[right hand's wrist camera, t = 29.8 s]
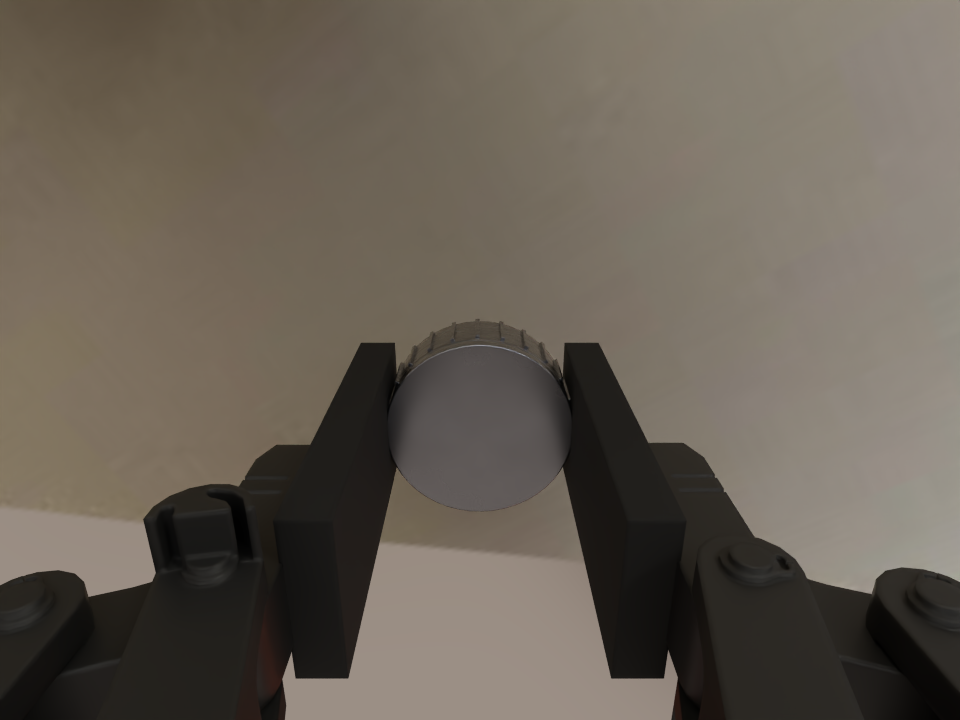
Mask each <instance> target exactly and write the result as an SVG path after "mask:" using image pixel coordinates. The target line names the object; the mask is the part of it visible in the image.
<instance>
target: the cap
mask: <svg viewBox="0 0 960 720" xmlns="http://www.w3.org/2000/svg"><path fill="white" fill-rule="evenodd" d="M394 385H395V386H394V390H393V393H392V396H391V399H390V404H389V408H388V411H387V420H388V437H389V450H390V454H391V456H392V459H393V461H394V463H395V465H396V466H397V468H398V469H399V471H400V472H401V474H402V475H403V476H404V478H405V479H406V480H407V481H408V482H409V483H410V484H411V485H412V486H413V487H414V488H415V489H416V490H418V491H419V492H420V493H422V494H423V495H425V496H426V497H428V498H430V499H432V500H434V501H435V502H438V503H440V504H443V505H445V506H448V507H452V508H456V509H460V510H467V511H494V510H499V509H504V508H508V507H511V506H514V505H517V504H519V503H522V502H524V501H526V500H528V499H530V498H531V497H533V496H535V495H536V494H538V493H539V492H540V491H542V490H543V489H544V488H545V487H547V486H548V485H549V484H550V483H551V482H552V481H553V480H554V478H555V477H556V476H557V474H558V473H559V472H560V470H561V469H562V467H563V465H564V464H565V462H566V460H567V457H568V455H569V453H570V446H571V430H572V409H571V406H570V396H569V393H568V389H567V386H566V383H565V380H564V379H563V377H562V373H561V370H560V367H559V364H558V361H557V359H555V360H553V358H552V357H551V355H550V354H549V353H548V352H547V350H546V349H545V346H544V344H543V343H542V342H541V343H538V342H537V341H536V340H535V339H533V338H532V337H530V336H529V335H527V334H526V331H525V330H524V329H522V330H521V331H520V330H518V329H515V328H513V327H510V326H507V325H504V323H503V322H502V321H500V322H499V323H494V322H482V321H480V319H476V321H475V322H465V323H460V324H456V322H454V323H452V326H449V327H447V328H444V329H442V330H440V331H438V332H436V333H434V331H432V332H431V333H430V336H429V337H428V338H426V339H425V340H423V341H422V342H421V343H420V344H419V345H418V346H416V345H414V346H413V347H412V351H411V353H410V355H409V356H408V357H407V359H406V361H405V362H404V363H402V362H401V364H400V366H399V369H398V372H397V375H396V379H395V382H394Z"/></svg>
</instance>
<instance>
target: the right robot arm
mask: <svg viewBox="0 0 960 720" xmlns="http://www.w3.org/2000/svg"><path fill="white" fill-rule="evenodd" d="M396 375H397V372H396V354H395V343H361V344H360V346H359V348H358V350H357V352H356V354H355V356H354V358H353V360H352V362H351V364H350V366H349V368H348V370H347V372H346V374H345V376H344V378H343V380H342V382H341V384H340V386H339V388H338V390H337V392H336V394H335V396H334V398H333V400H332V402H331V404H330V406H329V408H328V411H327V413H326V415H325V417H324V419H323V421H322V423H321V425H320V427H319V429H318V431H317V433H316V435H315V437H314V439H313V441H312V443H311V445H276V446H274V447H273V448H271V449H270V450H269V451H267V452H266V453H264V454H263V455H262V456H260V457H259V458H257V459H256V460H255V462H254V463H253V465H252V467H251V468H250V470H249V471H248V473H247V475H246V476H245V480H243V481H242V482H241V484H240V486H239V487H237V486H234V485H230V484H209V485H204V486H199V487H194V488H189V489H187V490H184V491H181V492H179V493H176V494H174V495H171V496H169V497H168V498H166V499H164V500H163V501H161V502H160V503H158V504H157V505H155V506H154V507H153V508H152V509H151V510H150V511H149V513H148V514H147V515H146V516H145V518H144V519H143V520H144V524H145V529H146V533H147V537H148V541H149V546H150V550H151V554H152V558H153V563H154V567H155V571H156V574H155V577H154V579H153V581H152V582H150V583H147V584H143V585H140V586H136V587H133V588H128V589H123V590H119V591H114V592H110V593H105V594H100V595H96V596H91V597H88V594H87V591H86V587H85V584H84V581H82V580H81V579H80V578H79V577H78V576H77V575H76V574H74V573H69V572H64V571H59V570H57V571H46V572H36V573H33V574H29V575H26V576H21V577H18V578H16V579H13V580H10V581H8V582H6V583H4V584H2V585H0V720H285V712H286V701H285V694H284V688H283V681H282V678H283V675H284V672H285V669H286V666H287V663H288V661H289V658H290V655H291V652H292V656H293V663H294V670H295V677H296V678H348V677H349V673H350V669H351V664H352V660H353V655H354V651H355V647H356V642H357V638H358V634H359V629H360V625H361V620H362V616H363V611H364V607H365V603H366V599H367V594H368V590H369V585H370V581H371V577H372V572H373V568H374V564H375V559H376V555H377V550H378V546H379V542H380V537H381V533H382V529H383V524H384V520H385V516H386V511H387V507H388V502H389V498H390V494H391V489H392V485H393V481H394V476H395V472H396V467H397V466H396V465H395V463H394V461H393V459H392V456H391V454H390V450H389V437H388V420H387V411H388V408H389V404H390V399H391V396H392V393H393V390H394V386H395V385H394V382H395V379H396ZM563 379H564V380H565V383H566V386H567V389H568V393H569V396H570V406H571V409H572V430H571V446H570V453H569V455H568V457H567V460H566V462H565V464H564V465H563V469H564V474H565V478H566V482H567V487H568V491H569V495H570V500H571V504H572V509H573V513H574V517H575V522H576V526H577V530H578V535H579V539H580V544H581V548H582V552H583V557H584V561H585V565H586V570H587V574H588V578H589V583H590V587H591V592H592V596H593V600H594V605H595V609H596V613H597V618H598V622H599V627H600V631H601V635H602V640H603V644H604V649H605V653H606V657H607V662H608V666H609V670H610V675H611V678H664V674H665V667H666V660H667V654H668V650H669V653H670V656H671V659H672V662H673V664H674V667H675V670H676V673H677V676H678V681H677V688H676V694H675V700H674V707H673V713H672V720H960V582H958V581H956V580H954V579H952V578H950V577H948V576H945V575H942V574H939V573H938V574H937V573H935V572H931V571H927V570H923V569H912V568H897V569H892V570H887V571H885V572H884V573H883V574H881V575H880V576H879V577H878V578H877V579H876V582H875V585H874V589H873V592H872V594H868V593H863V592H858V591H854V590H849V589H844V588H840V587H835V586H830V585H826V584H823V583H819V582H816V581H812V580H809V579H807V578H806V575H805V573H804V571H803V570H802V568H801V567H800V565H799V564H798V563H797V561H796V560H795V559H794V558H793V557H792V556H790V555H789V554H788V553H786V552H785V551H784V550H782V549H781V548H780V547H778V546H776V545H773V544H771V543H769V542H767V541H764V540H762V539H759V538H755V537H754V536H753V534H752V533H751V531H750V529H749V528H748V526H747V525H746V523H745V521H744V520H743V518H742V517H741V515H740V514H739V512H738V510H737V509H736V507H735V506H734V504H733V503H732V501H731V499H730V498H729V496H728V495H727V493H726V492H724V488H723V487H722V485H721V484H720V482H719V480H718V479H717V478H715V474H714V473H713V471H712V469H711V468H710V466H709V465H708V463H707V462H706V460H705V458H704V457H703V456H701V455H700V454H698V453H697V452H695V451H694V450H693V449H691V448H690V447H688V446H687V445H686V444H684V443H648V442H647V440H646V438H645V436H644V434H643V432H642V430H641V428H640V426H639V423H638V421H637V419H636V417H635V415H634V413H633V411H632V409H631V407H630V405H629V403H628V401H627V399H626V397H625V395H624V393H623V391H622V389H621V387H620V385H619V383H618V381H617V379H616V377H615V375H614V373H613V371H612V369H611V367H610V365H609V363H608V361H607V359H606V357H605V355H604V353H603V351H602V349H601V347H600V345H599V343H565V345H564V364H563Z"/></svg>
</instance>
